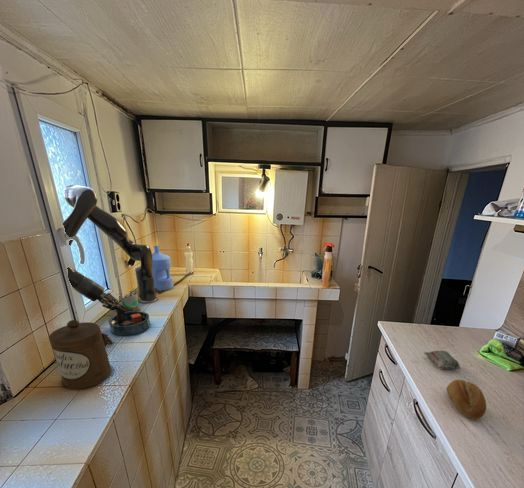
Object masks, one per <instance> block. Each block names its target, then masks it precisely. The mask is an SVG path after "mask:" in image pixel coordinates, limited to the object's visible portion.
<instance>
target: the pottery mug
mask: <svg viewBox="0 0 524 488" xmlns="http://www.w3.org/2000/svg"><path fill="white" fill-rule="evenodd" d="M101 333H102V337H103V341H104V344H105V348H106V347H107V346H109V345H110V344H112V343H113V340H112V339H111V337H110V336H109V335H108V334H107V333H104V332H101Z"/></svg>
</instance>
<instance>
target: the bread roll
mask: <svg viewBox="0 0 524 488" xmlns="http://www.w3.org/2000/svg"><path fill="white" fill-rule="evenodd" d="M446 393H447V395H448V398H449V399H450V401H451V403H452V405H454V407H455V409H456V410H458V412H460V413H461V414H462V415H463V416H465V417H467V418H469V419H472V420H478V419H481V418H482V417H483V416H484V415H485V414H486V410H487V401H486V397H485V395H484V393H483V391H482V390H481V389H480V387H479V386H478V385H477V384H475V383H472V382H470V381H467V380H463V379H454V380H452V381H451V382H450V383H449V384H448V385H447V386H446Z"/></svg>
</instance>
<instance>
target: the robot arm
mask: <svg viewBox="0 0 524 488" xmlns="http://www.w3.org/2000/svg"><path fill="white" fill-rule="evenodd" d="M63 197H64V200H65V201H66V202H67V204H68V205H69V206H70V207H72V208H73V209H72V211H71V212H70V213H69V215H68V216H66V218H65V219H63V221H62V222H63V225H64V228H65V232H66V234H67V235H68V236H69V237H73V236H75V237H76V236H77V234H78V232H79V231H80V229H81V227H82V226H83V225H84V224H85V222H86V220H87V219H88V220H89V221H90V222H91V223H93V225H94V226H96V227H97V228H98V229H100V231H101V232H102V233H103V234H104V235H106V236H107V237H108V238H109V239H111V240H112V241H113V242H114V243H116V245H117V246H118V247H120V248H121V249H122V250H123V251H124V253H125V254H126V255H127V256H128V257H129V258H130V259H131V260H132V261H133V260H134V261H135V262H140V266H137V267H135V268H134V272H135V273H134V274H135V278H136V283H137V290H138V296H139V302H140V303H142V304H150V303H151V304H152V303H154V302H156V301H157V293H158V294H162V293H164V292H165V291H164V290H163V291H159V290H157V288H155V285H154V278H153V271H152V269H153V260H152V254H153V252H152V249H151V247H150V246H149V245H148V244H138V243H136V242H134V241H133V240H132V239H130V237H129V235H128V230H127V228H126V226H125V225H124V224H122V222H121V221H120V220H119V219H117V218H116V217H115V216H114V215H112V214H110V213H109V212H108V211H106V210H104V209H102V208H101V207H99V206H97V204H98V195H97V193H96V191H94V189H92V188H91V187H89V186H84V185H76V184H70V185H67V186H65V187H64V189H63ZM73 242H74V240H70V241H69V245H70V246H72V245H73ZM67 269H68V278H69V281H70V283H71V285H72V287H73V288H74V289H73V288H72V289H73V290H75V291H76V292H77V293H78V294H80V295H81V296H83V297H85V298H87V299H88V300H90V301H92V302H94V303H95V302H97V301H98V302H99V303H100V304H102V305H101V306H102V307H103V308H105V309H108V310H110V311H113V312H114V311H116V310H117V311H119V312H120V313H122V314H124V313H125V312H126V308H125V307H124V306H122V304H121V307H120V306H119V305H117V304H120V301H119V300H118V299H117V298H116V297H115V296H113V295H112V294H111V293H110V292H108V293H106V292H104V291H105V288H104V287H103V286H102V285H100V284H98V282H96V281H94V280H93V279H91V278H90V277H87V276H85V275H83V274H82V273H81V272H79V271H78V270H76V269H74V268H72V267H71V266H70V267H69V265H68V268H67ZM191 272H192V273H191ZM191 274H194V272H193V271H189V272H188V273H187V274H185V275H184V276H183V277H182V278H180V279H179V280H178V281H176V282H175V283H173V285H174V286H176V285H177V284H179V283H181V282H182V281H183V280H184V279H186V277H188V276H190V275H191Z"/></svg>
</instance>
